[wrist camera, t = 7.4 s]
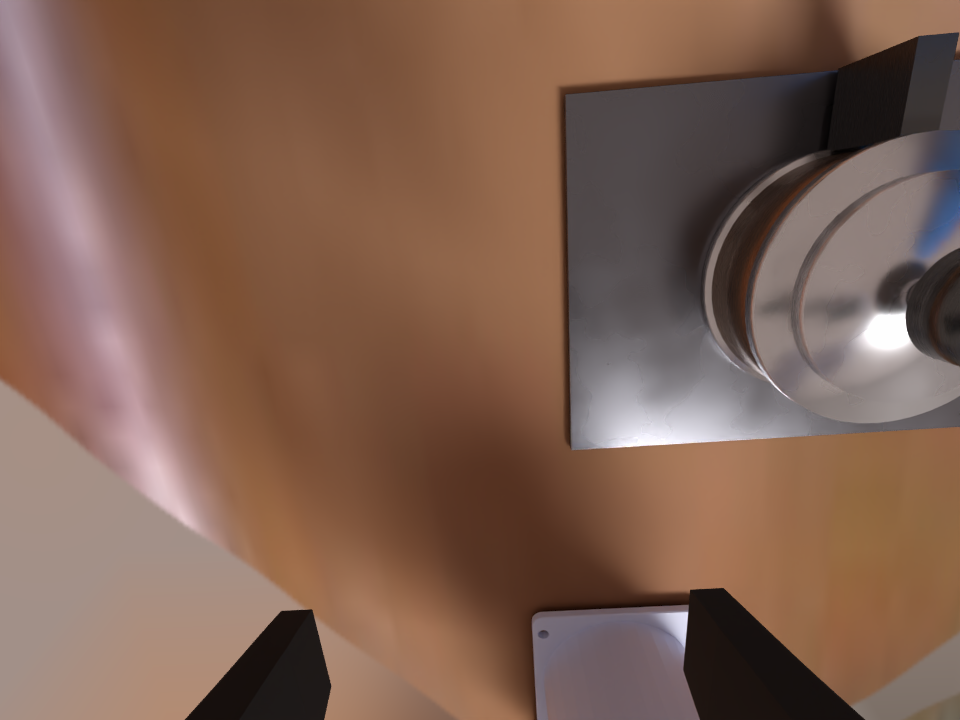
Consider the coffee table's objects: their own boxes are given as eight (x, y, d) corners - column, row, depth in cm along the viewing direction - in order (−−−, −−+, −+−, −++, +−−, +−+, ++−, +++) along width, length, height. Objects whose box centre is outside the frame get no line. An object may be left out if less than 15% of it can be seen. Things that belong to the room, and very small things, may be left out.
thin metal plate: (1017, 419, 18) (1146, 469, 15) (570, 446, 19) (589, 501, 15) (1134, 46, 14) (1350, -10, 11) (564, 96, 15) (588, 60, 12)
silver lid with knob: (991, 388, 14) (1121, 433, 11) (777, 401, 14) (851, 449, 11) (1056, 161, 12) (1235, 145, 9) (807, 181, 12) (904, 171, 9)
